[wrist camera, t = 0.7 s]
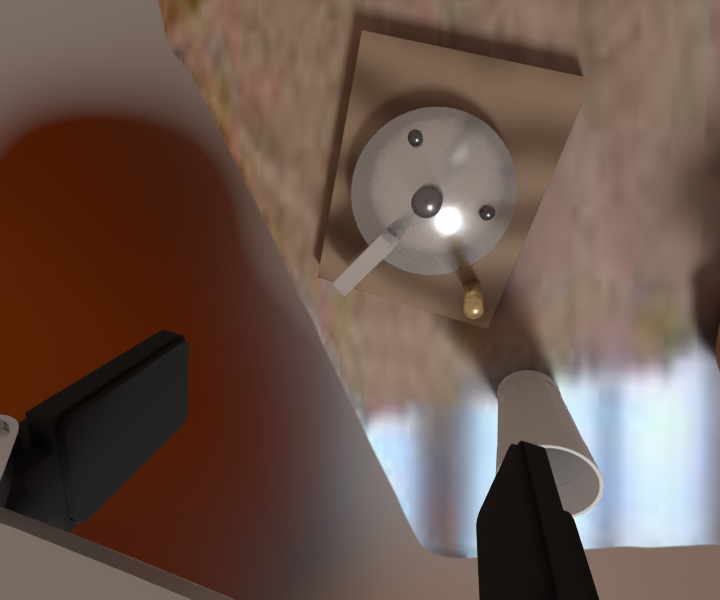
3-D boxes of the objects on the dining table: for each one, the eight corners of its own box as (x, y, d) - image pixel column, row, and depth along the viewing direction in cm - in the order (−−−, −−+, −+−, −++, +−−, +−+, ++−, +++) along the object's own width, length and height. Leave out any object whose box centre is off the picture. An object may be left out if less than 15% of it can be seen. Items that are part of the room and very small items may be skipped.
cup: (490, 361, 42) (498, 439, 31) (572, 365, 40) (611, 451, 29) (487, 420, 45) (493, 511, 34) (564, 428, 42) (596, 527, 32)
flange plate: (434, 67, 31) (429, 57, 27) (551, 194, 32) (563, 202, 28) (301, 225, 39) (282, 235, 35) (399, 321, 40) (392, 342, 36)
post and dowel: (413, 189, 35) (403, 198, 30) (437, 176, 34) (432, 183, 29) (467, 297, 37) (467, 321, 33) (491, 287, 36) (495, 311, 32)
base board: (367, 35, 33) (361, 30, 31) (585, 81, 30) (592, 78, 29) (323, 270, 42) (317, 277, 41) (486, 320, 40) (487, 329, 38)
